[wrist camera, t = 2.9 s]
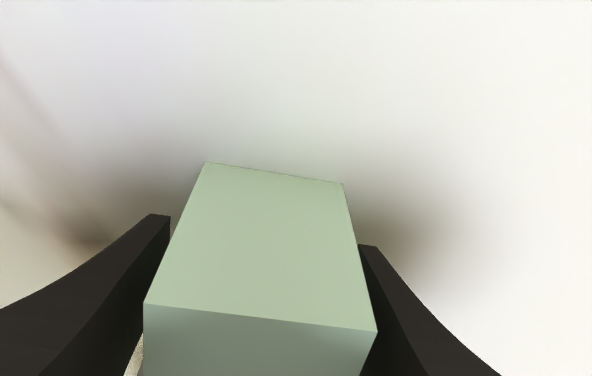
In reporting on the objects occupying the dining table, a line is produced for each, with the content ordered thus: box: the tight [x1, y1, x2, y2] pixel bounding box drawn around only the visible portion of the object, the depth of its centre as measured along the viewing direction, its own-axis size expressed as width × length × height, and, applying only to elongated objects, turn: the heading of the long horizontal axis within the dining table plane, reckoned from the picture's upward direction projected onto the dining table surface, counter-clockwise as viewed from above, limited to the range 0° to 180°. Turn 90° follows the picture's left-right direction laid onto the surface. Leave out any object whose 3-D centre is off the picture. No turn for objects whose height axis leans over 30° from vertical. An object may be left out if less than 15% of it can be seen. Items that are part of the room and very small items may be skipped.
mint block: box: [143, 162, 378, 376], centre depth 11 cm, size 4×4×6 cm
